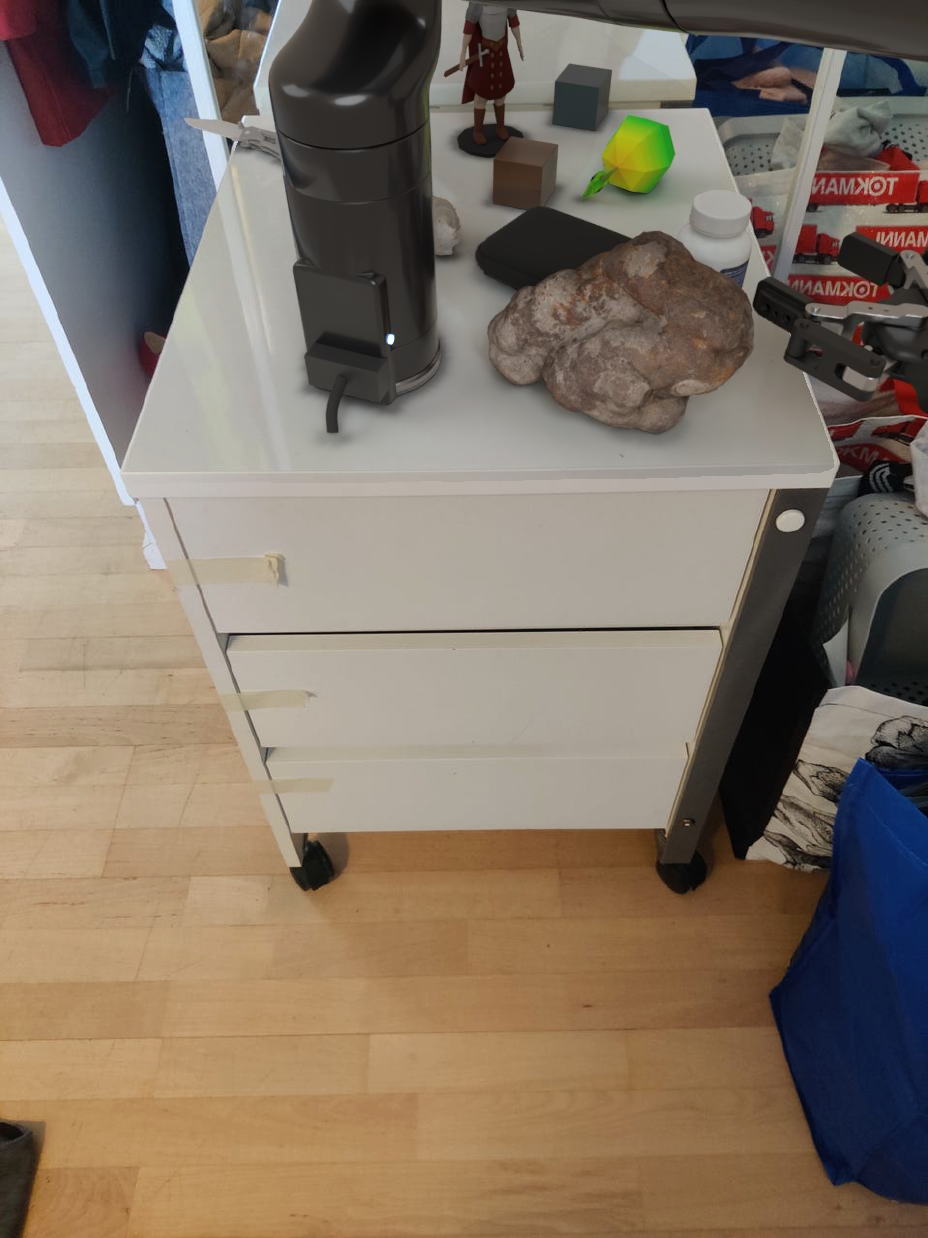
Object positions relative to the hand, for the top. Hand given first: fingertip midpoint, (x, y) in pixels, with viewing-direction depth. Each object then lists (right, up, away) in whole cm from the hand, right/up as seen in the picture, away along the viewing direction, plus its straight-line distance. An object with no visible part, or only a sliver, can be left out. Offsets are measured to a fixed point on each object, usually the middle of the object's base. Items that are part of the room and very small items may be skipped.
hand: (801, 268), depth 59 cm
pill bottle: (-4, -1, +10) cm, 11 cm away
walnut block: (-17, +16, +23) cm, 32 cm away
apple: (-7, +16, +23) cm, 29 cm away
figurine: (-20, +24, +30) cm, 43 cm away
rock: (-10, -1, +3) cm, 10 cm away
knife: (-44, +23, +28) cm, 57 cm away
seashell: (-28, +11, +20) cm, 36 cm away
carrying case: (-14, +4, +14) cm, 20 cm away
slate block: (-10, +28, +32) cm, 44 cm away
